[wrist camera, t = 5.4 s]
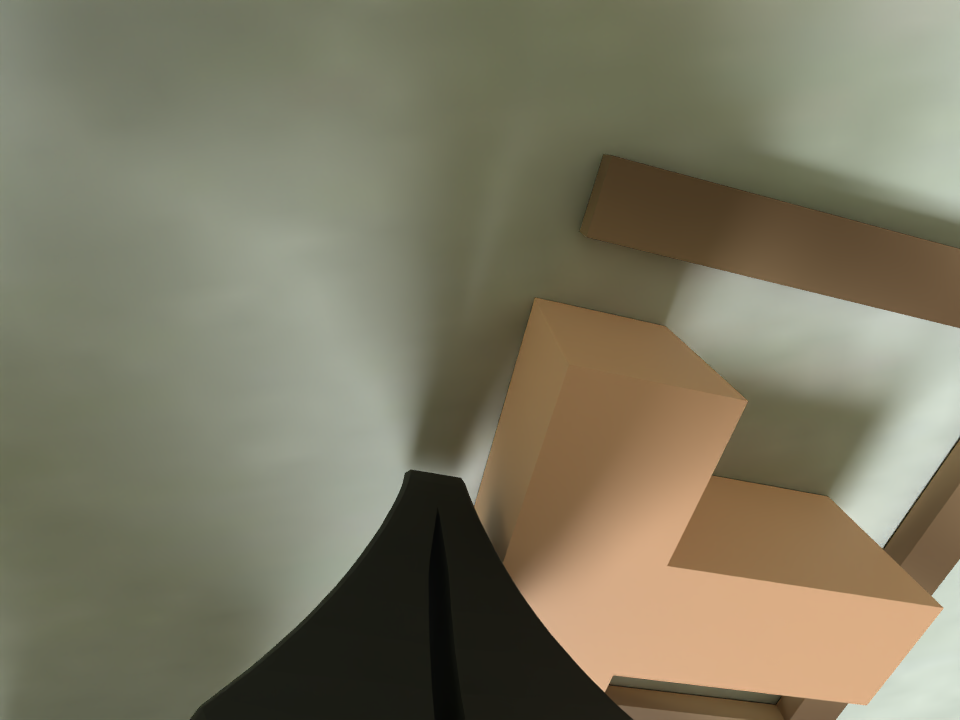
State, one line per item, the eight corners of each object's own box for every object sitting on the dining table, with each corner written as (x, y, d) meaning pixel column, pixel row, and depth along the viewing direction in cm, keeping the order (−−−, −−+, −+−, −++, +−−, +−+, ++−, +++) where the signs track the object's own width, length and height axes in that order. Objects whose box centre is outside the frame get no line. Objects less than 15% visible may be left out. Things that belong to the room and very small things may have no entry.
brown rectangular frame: (795, 738, 18) (806, 757, 17) (434, 698, 16) (433, 719, 16) (1124, 294, 12) (1158, 302, 11) (603, 154, 10) (612, 155, 9)
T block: (438, 628, 15) (435, 765, 12) (534, 297, 11) (569, 363, 8) (725, 664, 16) (793, 797, 13) (899, 378, 12) (1057, 464, 9)
